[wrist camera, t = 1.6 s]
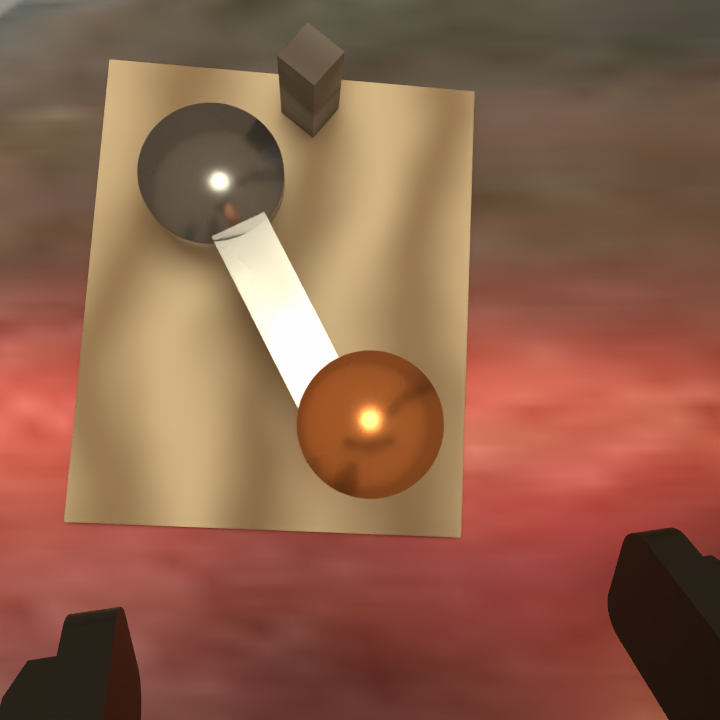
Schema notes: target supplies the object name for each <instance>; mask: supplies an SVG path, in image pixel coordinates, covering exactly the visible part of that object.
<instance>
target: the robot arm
mask: <svg viewBox="0 0 720 720" xmlns="http://www.w3.org/2000/svg"><path fill="white" fill-rule="evenodd" d="M608 612H609V617H610V620H611V623H612V626H613V628H614V631H615V633H616V634H617V636H618V638H619V639H620V641H621V643H622V644H623V646H624V648H625V649H626V651H627V652H628V654H629V656H630V657H631V659H632V661H633V662H634V664H635V665H636V667H637V669H638V670H639V672H640V674H641V675H642V677H643V678H644V680H645V682H646V683H647V685H648V687H649V688H650V690H651V691H652V693H653V695H654V696H655V698H656V700H657V701H658V703H659V705H660V706H661V708H662V709H663V711H664V713H665V714H666V716H667V718H668V719H669V720H720V561H719V560H718V559H716V558H715V557H713V556H712V555H711V556H704V557H703V556H702V555H701V554H700V553H699V551H698V550H697V549H696V548H695V547H694V546H693V544H692V543H691V542H690V541H689V540H688V538H687V537H686V536H685V535H684V534H683V533H682V532H681V531H679V530H677V529H675V528H664V529H658V530H651V531H644V532H637V533H631V534H628V535H627V536H626V537H625V539H624V541H623V544H622V548H621V551H620V555H619V558H618V562H617V565H616V569H615V573H614V576H613V580H612V583H611V587H610V590H609V594H608ZM0 720H141V685H140V676H139V670H138V665H137V661H136V657H135V653H134V649H133V645H132V640H131V636H130V632H129V628H128V624H127V620H126V616H125V612H124V609H123V608H122V607H116V608H109V609H102V610H95V611H88V612H82V613H75V614H69V615H68V616H67V617H66V619H65V621H64V624H63V629H62V633H61V638H60V643H59V648H58V653H57V656H55V657H48V658H42V659H36V660H29V661H27V663H26V664H25V666H24V667H23V668H22V670H21V671H20V673H19V674H18V676H17V677H16V679H15V680H14V682H13V683H12V685H11V686H10V687H9V689H8V690H7V692H6V693H5V695H4V696H3V698H2V701H1V705H0Z"/></svg>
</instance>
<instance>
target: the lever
mask: <svg viewBox="0 0 720 720" xmlns="http://www.w3.org/2000/svg"><path fill="white" fill-rule="evenodd" d="M137 177H138V185H139V189H140V192H141V195H142V197H143V200H144V202H145V204H146V205H147V207H148V209H149V210H150V212H151V213H152V215H153V216H154V218H155V219H156V221H157V222H158V223H159V224H160V226H161V227H162V228H163V229H164V230H165V231H166V232H167V233H169V234H170V235H171V236H173V237H174V238H176V239H177V240H179V241H181V242H183V243H185V244H188V245H190V246H193V247H197V248H201V249H208V250H218V251H219V253H220V255H221V257H222V259H223V261H224V263H225V265H226V267H227V269H228V271H229V273H230V275H231V277H232V279H233V281H234V283H235V285H236V287H237V289H238V291H239V293H240V295H241V297H242V299H243V301H244V303H245V305H246V307H247V309H248V311H249V313H250V315H251V317H252V319H253V321H254V323H255V325H256V327H257V329H258V331H259V333H260V335H261V337H262V339H263V341H264V343H265V344H266V346H267V348H268V350H269V352H270V354H271V356H272V358H273V360H274V362H275V364H276V366H277V368H278V370H279V372H280V374H281V376H282V378H283V380H284V382H285V384H286V386H287V388H288V390H289V392H290V394H291V396H292V398H293V400H294V402H295V404H296V406H297V408H298V414H297V435H298V441H299V444H300V448H301V451H302V453H303V455H304V458H305V460H306V461H307V463H308V465H309V466H310V468H311V469H312V470H313V472H314V473H315V474H316V475H317V476H318V477H319V478H320V479H321V480H322V481H323V482H324V483H326V484H327V485H328V486H330V487H331V488H333V489H335V490H337V491H338V492H341V493H343V494H346V495H348V496H352V497H356V498H363V499H379V498H385V497H389V496H393V495H396V494H398V493H400V492H403V491H405V490H407V489H408V488H410V487H411V486H413V485H414V484H415V483H417V482H418V481H419V480H420V479H421V478H422V477H423V476H424V475H425V474H426V473H427V472H428V470H429V469H430V468H431V466H432V465H433V463H434V461H435V459H436V458H437V456H438V453H439V450H440V448H441V444H442V440H443V433H444V416H443V410H442V406H441V402H440V399H439V397H438V394H437V392H436V390H435V388H434V387H433V385H432V383H431V382H430V381H429V379H428V378H427V377H426V376H425V374H424V373H423V372H422V371H421V370H419V369H418V368H417V367H416V366H415V365H413V364H412V363H411V362H409V361H407V360H405V359H404V358H402V357H399V356H397V355H394V354H391V353H387V352H383V351H375V350H365V351H357V352H353V353H349V354H346V355H343V356H341V357H338V355H337V353H336V351H335V349H334V347H333V345H332V343H331V341H330V339H329V337H328V335H327V333H326V331H325V329H324V328H323V326H322V324H321V322H320V320H319V318H318V316H317V314H316V312H315V310H314V308H313V306H312V304H311V302H310V300H309V298H308V296H307V294H306V292H305V290H304V288H303V286H302V284H301V283H300V281H299V279H298V277H297V275H296V273H295V271H294V269H293V267H292V265H291V263H290V261H289V259H288V257H287V255H286V253H285V251H284V249H283V247H282V245H281V243H280V241H279V239H278V238H277V236H276V234H275V232H274V230H273V228H272V226H271V222H272V221H273V220H274V218H275V217H276V215H277V213H278V211H279V209H280V206H281V204H282V200H283V197H284V190H285V175H284V165H283V158H282V155H281V151H280V149H279V146H278V144H277V142H276V140H275V138H274V137H273V135H272V134H271V132H270V131H269V130H268V129H267V127H266V126H265V125H264V124H263V123H262V122H261V121H260V120H258V119H257V118H256V117H254V116H253V115H251V114H250V113H248V112H246V111H244V110H242V109H240V108H237V107H235V106H231V105H227V104H222V103H198V104H193V105H189V106H186V107H183V108H180V109H178V110H176V111H174V112H172V113H171V114H169V115H168V116H166V117H165V118H163V119H162V120H161V121H160V122H159V123H158V124H157V125H156V126H155V127H154V128H153V129H152V130H151V132H150V133H149V135H148V136H147V138H146V139H145V142H144V144H143V146H142V148H141V151H140V155H139V159H138V165H137Z"/></svg>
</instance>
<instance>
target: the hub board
mask: <svg viewBox="0 0 720 720" xmlns="http://www.w3.org/2000/svg"><path fill="white" fill-rule="evenodd" d="M277 59H278V73H279V74H269V73H257V72H246V71H234V70H223V69H212V68H200V67H189V66H178V65H166V64H155V63H143V62H132V61H121V60H110V61H109V71H108V81H107V91H106V102H105V112H104V122H103V132H102V142H101V152H100V162H99V172H98V183H97V193H96V203H95V213H94V223H93V233H92V243H91V254H90V264H89V274H88V284H87V294H86V304H85V314H84V325H83V335H82V345H81V355H80V365H79V375H78V385H77V395H76V406H75V416H74V426H73V436H72V446H71V456H70V466H69V477H68V487H67V497H66V507H65V517H64V522H78V523H104V524H129V525H155V526H180V527H206V528H231V529H257V530H282V531H308V532H333V533H358V534H384V535H409V536H435V537H460V538H461V517H462V484H463V451H464V418H465V385H466V352H467V319H468V286H469V253H470V220H471V187H472V154H473V121H474V92H473V91H462V90H450V89H439V88H428V87H416V86H405V85H394V84H382V83H371V82H359V81H348V80H342V71H343V61H344V51H343V50H341V49H340V48H339V47H338V46H336V45H335V44H334V43H333V42H332V41H330V40H329V39H328V38H327V37H325V36H324V35H323V34H322V33H320V32H319V31H318V30H317V29H315V28H314V27H313V26H312V25H310V24H309V23H308V22H307V23H306V25H305V26H304V27H303V28H302V29H301V30H300V31H299V32H298V33H297V34H296V36H295V37H294V38H293V39H292V40H291V41H290V42H289V43H288V44H287V46H286V47H285V48H284V49H283V50H282V51H281V52H280V53H279V54H278V55H277ZM198 103H222V104H227V105H231V106H235V107H237V108H240V109H242V110H244V111H246V112H248V113H250V114H251V115H253V116H254V117H256V118H257V119H258V120H260V121H261V122H262V123H263V124H264V125H265V126H266V127H267V129H268V130H269V131H270V132H271V134H272V135H273V137H274V138H275V140H276V142H277V144H278V146H279V149H280V151H281V155H282V158H283V165H284V175H285V190H284V197H283V200H282V204H281V206H280V209H279V211H278V213H277V215H276V217H275V218H274V220H273V221H272V222H271V226H272V228H273V230H274V232H275V234H276V236H277V238H278V239H279V241H280V243H281V245H282V247H283V249H284V251H285V253H286V255H287V257H288V259H289V261H290V263H291V265H292V267H293V269H294V271H295V273H296V275H297V277H298V279H299V281H300V283H301V284H302V286H303V288H304V290H305V292H306V294H307V296H308V298H309V300H310V302H311V304H312V306H313V308H314V310H315V312H316V314H317V316H318V318H319V320H320V322H321V324H322V326H323V328H324V329H325V331H326V333H327V335H328V337H329V339H330V341H331V343H332V345H333V347H334V349H335V351H336V353H337V355H338V357H341V356H343V355H346V354H349V353H353V352H357V351H365V350H375V351H383V352H387V353H391V354H394V355H397V356H399V357H402V358H404V359H405V360H407V361H409V362H411V363H412V364H413V365H415V366H416V367H417V368H418V369H419V370H421V371H422V372H423V373H424V374H425V376H426V377H427V378H428V379H429V381H430V382H431V383H432V385H433V387H434V388H435V390H436V392H437V394H438V397H439V399H440V402H441V406H442V410H443V416H444V433H443V440H442V444H441V448H440V450H439V453H438V456H437V458H436V459H435V461H434V463H433V465H432V466H431V468H430V469H429V470H428V472H427V473H426V474H425V475H424V476H423V477H422V478H421V479H420V480H419V481H418V482H417V483H415V484H414V485H413V486H411V487H410V488H408V489H407V490H405V491H403V492H400V493H398V494H396V495H393V496H389V497H385V498H379V499H363V498H356V497H352V496H348V495H346V494H343V493H341V492H338V491H337V490H335V489H333V488H331V487H330V486H328V485H327V484H326V483H324V482H323V481H322V480H321V479H320V478H319V477H318V476H317V475H316V474H315V473H314V472H313V470H312V469H311V468H310V466H309V465H308V463H307V461H306V460H305V458H304V455H303V453H302V451H301V448H300V444H299V441H298V435H297V414H298V408H297V406H296V404H295V402H294V400H293V398H292V396H291V394H290V392H289V390H288V388H287V386H286V384H285V382H284V380H283V378H282V376H281V374H280V372H279V370H278V368H277V366H276V364H275V362H274V360H273V358H272V356H271V354H270V352H269V350H268V348H267V346H266V344H265V343H264V341H263V339H262V337H261V335H260V333H259V331H258V329H257V327H256V325H255V323H254V321H253V319H252V317H251V315H250V313H249V311H248V309H247V307H246V305H245V303H244V301H243V299H242V297H241V295H240V293H239V291H238V289H237V287H236V285H235V283H234V281H233V279H232V277H231V275H230V273H229V271H228V269H227V267H226V265H225V263H224V261H223V259H222V257H221V255H220V253H219V251H218V250H208V249H201V248H197V247H193V246H190V245H188V244H185V243H183V242H181V241H179V240H177V239H176V238H174V237H173V236H171V235H170V234H169V233H167V232H166V231H165V230H164V229H163V228H162V227H161V226H160V224H159V223H158V222H157V221H156V219H155V218H154V216H153V215H152V213H151V212H150V210H149V209H148V207H147V205H146V204H145V202H144V200H143V197H142V195H141V192H140V189H139V185H138V177H137V165H138V159H139V155H140V151H141V148H142V146H143V144H144V142H145V139H146V138H147V136H148V135H149V133H150V132H151V130H152V129H153V128H154V127H155V126H156V125H157V124H158V123H159V122H160V121H161V120H162V119H163V118H165V117H166V116H168V115H169V114H171V113H172V112H174V111H176V110H178V109H180V108H183V107H186V106H189V105H193V104H198Z"/></svg>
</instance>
